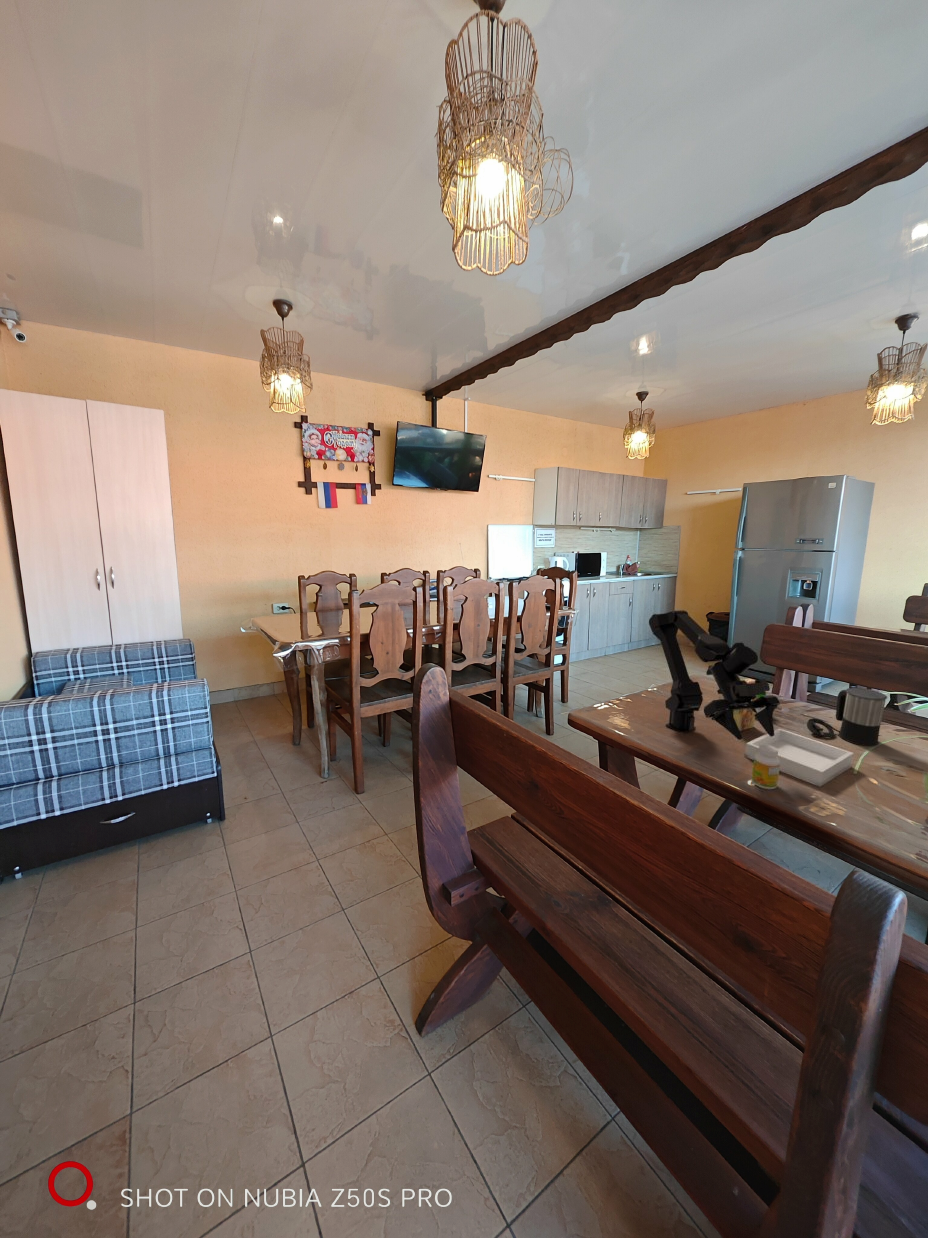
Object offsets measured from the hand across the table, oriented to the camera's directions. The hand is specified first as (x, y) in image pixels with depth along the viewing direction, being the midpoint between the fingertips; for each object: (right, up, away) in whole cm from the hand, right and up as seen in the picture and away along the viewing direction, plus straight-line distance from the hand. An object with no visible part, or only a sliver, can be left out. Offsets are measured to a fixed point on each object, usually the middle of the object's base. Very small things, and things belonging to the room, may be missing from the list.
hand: (756, 737), depth 115 cm
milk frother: (+40, -6, +23) cm, 47 cm away
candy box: (+14, -5, +30) cm, 34 cm away
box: (+17, -9, +9) cm, 21 cm away
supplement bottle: (+1, -11, -1) cm, 11 cm away
